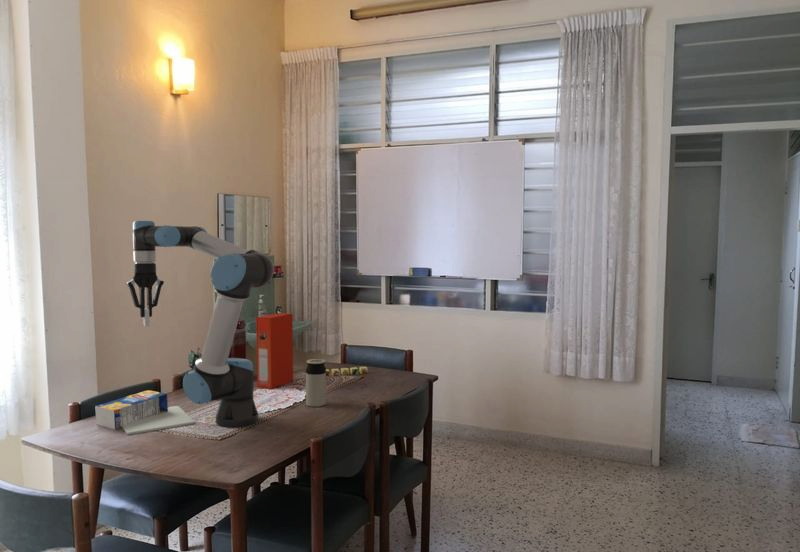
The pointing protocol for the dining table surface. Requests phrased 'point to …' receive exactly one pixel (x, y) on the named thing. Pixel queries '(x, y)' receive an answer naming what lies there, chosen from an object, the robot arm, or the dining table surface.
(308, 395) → the travel mug
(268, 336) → the file binder
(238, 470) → the dining table surface
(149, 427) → the board
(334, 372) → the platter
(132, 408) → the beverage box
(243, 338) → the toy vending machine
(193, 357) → the green animal figurine
